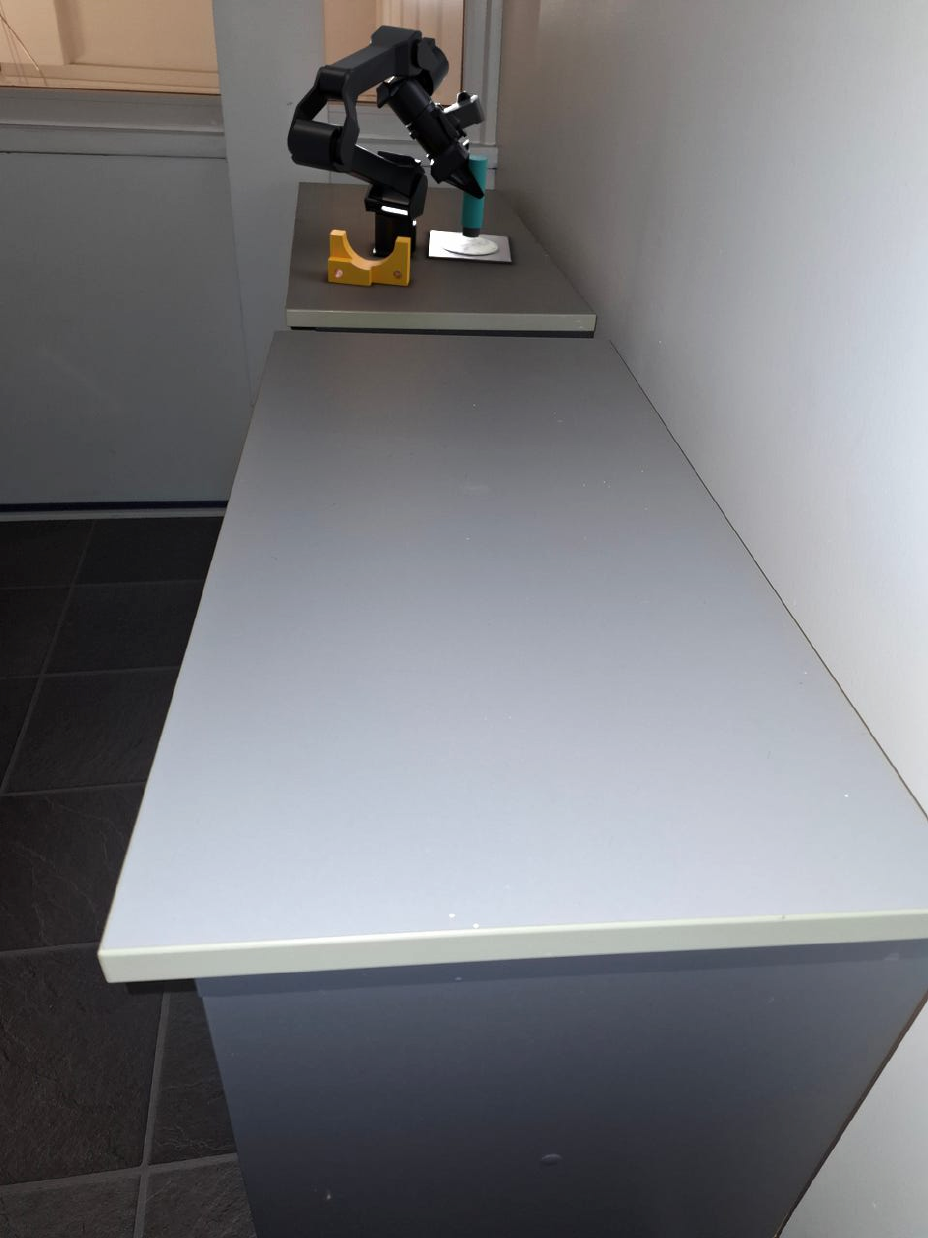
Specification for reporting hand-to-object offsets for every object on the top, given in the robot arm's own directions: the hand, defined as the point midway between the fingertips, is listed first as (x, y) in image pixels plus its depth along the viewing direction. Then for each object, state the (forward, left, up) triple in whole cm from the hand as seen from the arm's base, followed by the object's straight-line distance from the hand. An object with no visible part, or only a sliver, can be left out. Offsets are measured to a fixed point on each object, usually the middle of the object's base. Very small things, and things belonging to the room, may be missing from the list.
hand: (482, 194), depth 142 cm
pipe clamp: (-17, -18, -9) cm, 27 cm away
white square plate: (-1, +2, -9) cm, 10 cm away
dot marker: (-1, 0, -7) cm, 7 cm away
